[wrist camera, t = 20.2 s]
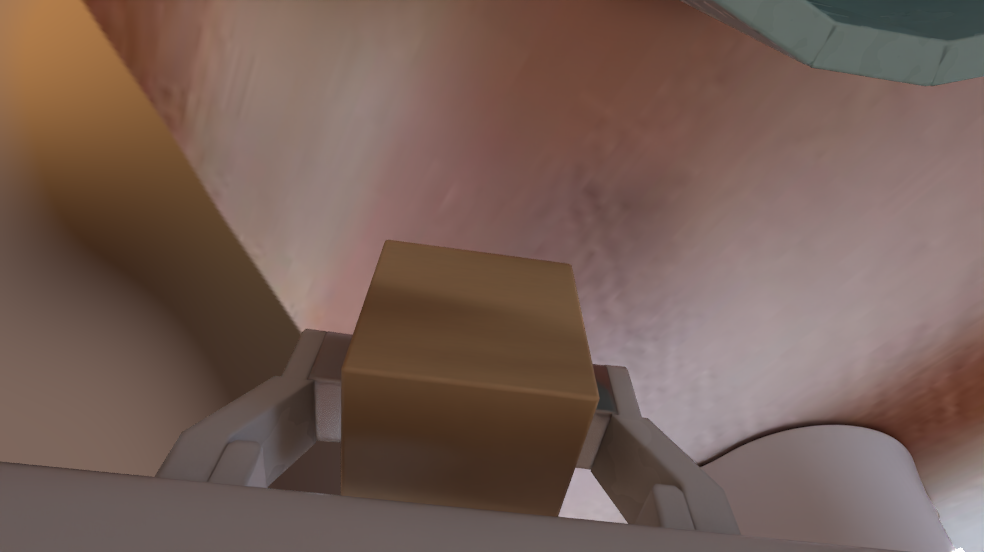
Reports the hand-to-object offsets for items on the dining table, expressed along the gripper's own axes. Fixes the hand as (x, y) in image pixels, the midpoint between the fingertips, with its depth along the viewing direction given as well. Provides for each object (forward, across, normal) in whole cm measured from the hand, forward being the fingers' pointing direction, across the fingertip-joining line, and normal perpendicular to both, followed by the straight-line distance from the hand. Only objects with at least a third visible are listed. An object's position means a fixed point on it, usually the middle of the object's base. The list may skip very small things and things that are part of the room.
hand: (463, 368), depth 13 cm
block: (+2, 0, 0) cm, 2 cm away
